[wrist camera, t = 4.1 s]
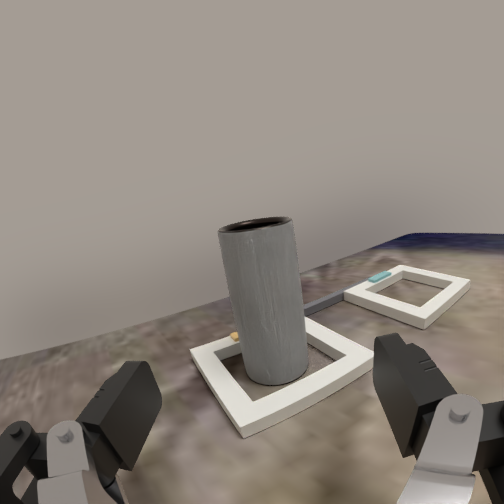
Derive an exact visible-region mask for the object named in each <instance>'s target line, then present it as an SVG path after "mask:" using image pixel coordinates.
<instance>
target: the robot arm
mask: <svg viewBox="0 0 504 504" xmlns="http://www.w3.org/2000/svg"><path fill="white" fill-rule="evenodd" d="M373 383H374V387H375V390H376V393H377V395H378V397H379V400H380V402H381V404H382V407H383V409H384V412H385V414H386V416H387V419H388V421H389V424H390V426H391V429H392V431H393V434H394V436H395V439H396V441H397V444H398V446H399V449H400V452H401V454H402V457H403V458H405V457H408V456H411V455H415V458H416V460H417V462H416V464H415V467H414V469H413V471H412V473H411V475H410V478H409V480H408V482H407V484H406V486H405V488H404V490H403V492H402V494H401V496H400V498H399V500H398V501H397V503H396V504H468V503H469V500H470V497H471V494H472V491H473V487H474V483H475V475H474V474H472V472H473V471H478V470H479V473H480V475H481V477H482V480H483V482H484V484H485V487H486V489H487V492H488V494H489V497H490V499H491V502H492V504H504V401H499V402H494V403H488V404H481V403H480V402H479V401H478V400H477V399H476V398H474V397H472V396H470V395H466V394H457V392H456V391H455V390H454V388H453V387H452V386H451V384H450V383H449V382H448V380H447V379H446V377H445V376H444V375H443V374H442V372H441V371H440V370H439V368H437V367H436V364H435V363H434V362H433V360H431V358H430V357H429V355H428V354H427V353H426V352H425V350H424V349H422V348H420V347H419V346H417V345H415V344H413V343H411V344H407V345H406V344H405V342H404V341H403V340H402V338H401V337H400V336H399V334H398V333H392V334H388V335H383V336H379V337H376V338H375V341H374V359H373ZM161 405H162V396H161V393H160V390H159V388H158V385H157V383H156V381H155V378H154V376H153V373H152V371H151V368H150V366H149V364H148V363H147V362H146V361H126V362H125V363H124V364H123V366H122V367H121V368H120V369H119V371H118V372H117V373H116V374H114V375H113V376H111V377H110V378H109V379H107V380H106V381H105V382H104V384H103V385H102V386H101V388H100V391H97V393H96V394H95V395H94V398H92V399H91V401H90V402H89V403H88V405H87V406H86V407H85V409H84V410H83V411H82V413H81V414H80V415H79V417H78V418H77V419H76V421H71V420H68V421H63V422H60V423H58V424H56V425H55V426H53V427H52V428H51V429H50V431H49V432H48V433H36V432H35V431H34V429H33V428H32V427H31V425H30V424H29V423H28V422H26V421H17V422H14V423H12V424H11V425H9V426H8V427H7V428H6V430H5V431H4V432H3V433H2V434H1V436H0V504H129V502H128V499H127V497H126V494H125V491H124V489H123V486H122V483H121V480H120V478H119V476H118V475H117V474H116V473H117V471H118V469H119V468H120V469H124V470H129V471H132V469H133V467H134V465H135V463H136V461H137V458H138V456H139V454H140V452H141V450H142V447H143V445H144V443H145V441H146V439H147V437H148V435H149V432H150V430H151V428H152V426H153V424H154V422H155V419H156V417H157V415H158V413H159V411H160V409H161ZM24 466H25V467H26V468H27V469H28V470H29V472H30V473H31V474H32V475H33V476H34V478H33V480H32V482H31V483H30V485H29V487H28V488H27V490H26V492H25V493H24V495H23V497H22V498H21V500H20V499H19V498H17V497H16V496H15V494H14V492H13V489H12V485H13V483H14V481H15V479H16V478H17V476H18V475H19V473H20V472H21V470H22V469H23V467H24Z"/></svg>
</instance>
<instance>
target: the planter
mask: <svg viewBox="0 0 504 504" xmlns="http://www.w3.org/2000/svg"><path fill="white" fill-rule="evenodd" d="M218 237H219V243H220V248H221V253H222V259H223V264H224V269H225V274H226V279H227V284H228V289H229V294H230V299H231V304H232V309H233V314H234V319H235V324H236V328H237V333H238V338H239V342H240V347H241V352H242V356H243V361H244V365H245V369H246V372H247V375H248V376H249V377H250V378H251V379H252V380H253V381H255V382H257V383H260V384H265V385H279V384H285V383H288V382H291V381H293V380H295V379H297V378H298V377H300V376H301V375H302V374H303V373H304V372H305V371H306V369H307V367H308V348H307V337H306V327H305V317H304V308H303V298H302V290H301V281H300V273H299V265H298V257H297V249H296V241H295V234H294V227H293V221H292V219H291V218H289V217H269V218H261V219H253V220H248V221H243V222H238V223H234V224H230V225H227V226H225V227H222V228H220V229H219V230H218Z"/></svg>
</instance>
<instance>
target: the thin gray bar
mask: <svg viewBox="0 0 504 504" xmlns="http://www.w3.org/2000/svg"><path fill="white" fill-rule="evenodd" d="M368 278H371V277H368ZM368 278H366V279H364V280H362V281H359V282H357V283H355V284H353V285H350V286H348V287H346V288H343V289H341V290H339V291H336V292H334V293H332V294H329V295H327V296H325V297H322V298H320V299H317V300H315V301H312V302H310V303H308V304H305V305H303V308H304V316H305V317H306V316H308V315H310V314H313V313H315V312H317V311H320V310H322V309H324V308H326V307H329V306H331V305H333V304H335V303H338V302H340V301H342V300H344V291H345V290H347V289H349V288H352V287H354V286H356V285H358V284H361V283H363V282H365V281H367V280H368Z"/></svg>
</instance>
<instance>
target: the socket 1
mask: <svg viewBox="0 0 504 504" xmlns="http://www.w3.org/2000/svg"><path fill="white" fill-rule="evenodd" d="M304 317H305V316H304ZM305 327H306V337H307V343H309V344H310V345H312V346H314V347H315V348H317V349H318V350H320V351H322V352H323V353H325V354H326V355H328V356H330V357H331V358H333V359H335V360H336V362H334V363H332V364H330V365H328V366H326V367H325V368H323V369H321V370H319V371H317V372H315V373H313V374H311V375H309V376H307V377H306V378H304V379H302V380H300V381H298V382H296V383H293V384H291V385H289V386H287V387H285V388H283V389H281V390H279V391H277V392H274V393H272V394H270V395H268V396H266V397H263V398H261V399H259V400H257V401H254V402H253V401H252V400H251V399H250V398H249V397H248V395H247V394H246V393H245V392H244V390H243V389H242V388H241V387H240V386H239V384H238V383H237V382H236V381H235V379H234V378H233V377H232V376H231V374H230V373H229V372H228V371H227V369H226V368H225V367H224V365H223V364H222V363H221V362H220V361H221V360H223V359H226V358H229V357H232V356H234V355H237V354H240V353H242V352H241V347H240V342H239V338H238V333H237V332H235V333H232V334H230V336H229V337H226V338H223V339H220V340H217V341H214V342H211V343H208V344H205V345H202V346H199V347H196V348H193V349H190V352H191V355H192V358H193V361H194V362H195V364H196V366H197V367H198V369H199V371H200V373H201V374H202V376H203V378H204V379H205V381H206V382H207V384H208V386H209V387H210V389H211V391H212V392H213V394H214V395H215V397H216V398H217V400H218V402H219V403H220V405H221V406H222V408H223V409H224V411H225V412H226V414H227V415H228V417H229V418H230V420H231V421H232V423H233V424H234V426H235V427H236V429H237V430H238V431H239V433H240V434H241V436H242V437H243V439H244V438H246V437H248V436H251V435H253V434H255V433H258V432H260V431H262V430H264V429H266V428H269V427H271V426H273V425H275V424H277V423H279V422H281V421H283V420H285V419H287V418H289V417H291V416H293V415H295V414H297V413H299V412H301V411H303V410H305V409H307V408H308V407H310V406H312V405H314V404H316V403H317V402H319V401H321V400H323V399H324V398H326V397H328V396H330V395H331V394H333V393H335V392H336V391H338V390H340V389H341V388H343V387H345V386H346V385H348V384H349V383H351V382H353V381H354V380H356V379H357V378H359V377H360V376H362V375H363V374H365V373H366V372H368V371H369V370H371V369H372V368H373V359H374V352H373V351H371V350H369V349H367V348H365V347H363V346H361V345H359V344H357V343H355V342H353V341H351V340H349V339H347V338H345V337H343V336H341V335H339V334H338V333H336V332H334V331H332V330H330V329H328V328H326V327H324V326H322V325H320V324H318V323H316V322H314V321H312V320H311V319H309V318H307V317H305Z"/></svg>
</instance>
